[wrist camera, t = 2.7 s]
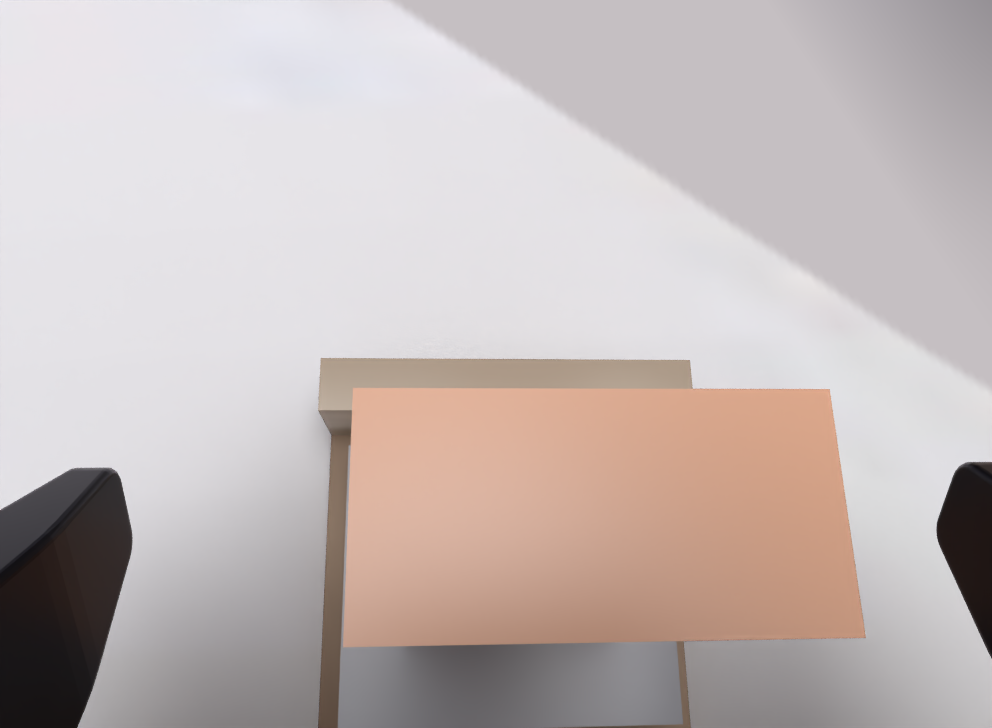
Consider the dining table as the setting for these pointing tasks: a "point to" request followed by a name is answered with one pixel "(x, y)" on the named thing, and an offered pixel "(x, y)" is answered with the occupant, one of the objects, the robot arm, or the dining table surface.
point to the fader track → (449, 373)
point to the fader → (579, 548)
